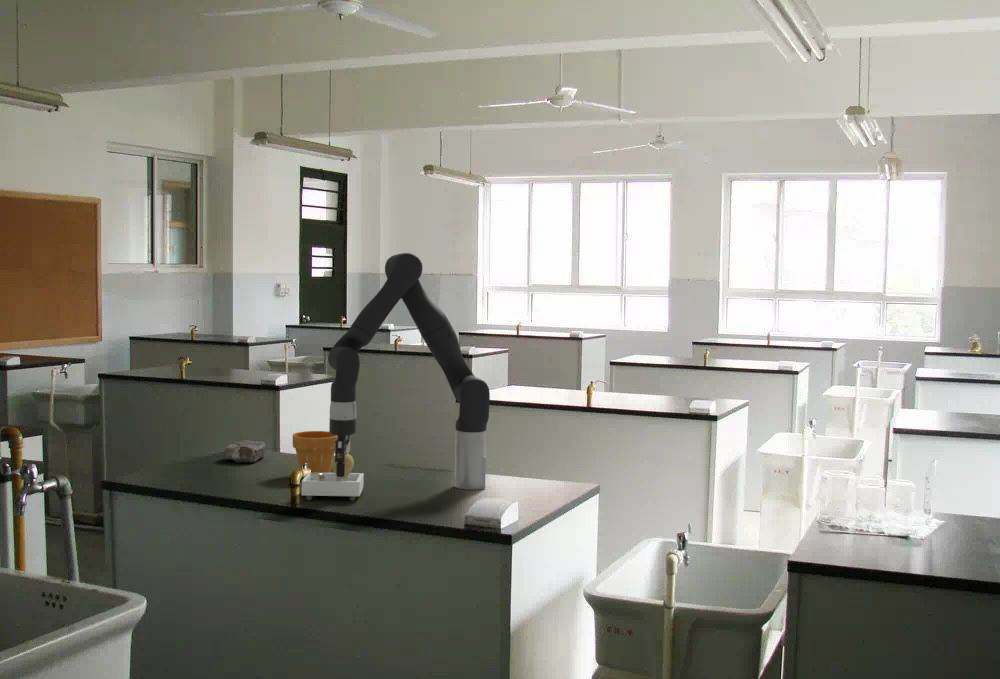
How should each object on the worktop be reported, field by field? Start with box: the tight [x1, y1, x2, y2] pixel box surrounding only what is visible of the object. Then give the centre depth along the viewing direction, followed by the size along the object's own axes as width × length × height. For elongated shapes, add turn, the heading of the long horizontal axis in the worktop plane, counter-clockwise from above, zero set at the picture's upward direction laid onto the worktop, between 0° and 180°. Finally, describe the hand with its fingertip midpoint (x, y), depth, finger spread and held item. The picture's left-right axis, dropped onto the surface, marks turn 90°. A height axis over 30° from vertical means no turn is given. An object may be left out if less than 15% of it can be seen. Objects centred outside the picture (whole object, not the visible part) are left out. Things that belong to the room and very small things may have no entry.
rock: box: [222, 439, 267, 464], centre depth 335 cm, size 13×6×15 cm
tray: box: [301, 472, 365, 502], centre depth 284 cm, size 16×12×6 cm
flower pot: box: [292, 430, 338, 473], centre depth 312 cm, size 14×14×13 cm
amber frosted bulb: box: [331, 453, 355, 481], centre depth 285 cm, size 6×6×10 cm
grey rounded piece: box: [310, 472, 325, 481], centre depth 284 cm, size 4×4×4 cm
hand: (342, 473), depth 284 cm, fingers open, 8 cm apart
